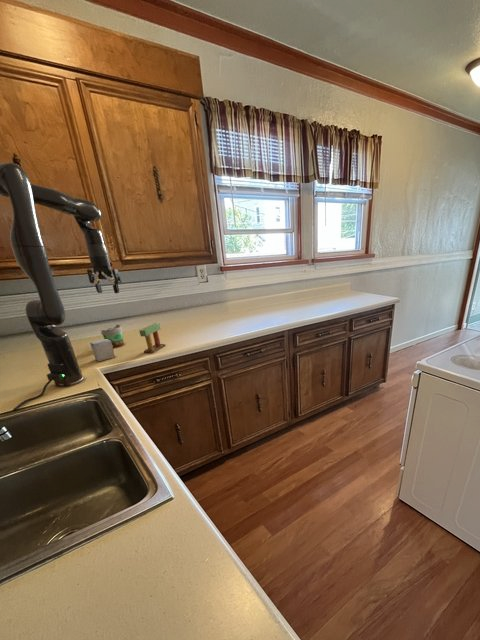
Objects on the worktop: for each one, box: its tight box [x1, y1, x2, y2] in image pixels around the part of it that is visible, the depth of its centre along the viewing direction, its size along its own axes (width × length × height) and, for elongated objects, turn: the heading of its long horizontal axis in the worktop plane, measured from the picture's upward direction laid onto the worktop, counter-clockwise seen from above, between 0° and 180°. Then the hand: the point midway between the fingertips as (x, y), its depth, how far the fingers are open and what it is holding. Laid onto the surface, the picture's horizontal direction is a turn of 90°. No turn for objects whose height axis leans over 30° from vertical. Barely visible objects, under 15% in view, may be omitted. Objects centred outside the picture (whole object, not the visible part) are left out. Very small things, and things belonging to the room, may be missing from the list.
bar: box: [139, 322, 162, 338], centre depth 167 cm, size 3×14×3 cm, turn 171°
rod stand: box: [143, 330, 166, 354], centre depth 170 cm, size 5×12×9 cm, turn 171°
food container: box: [100, 324, 125, 349], centre depth 175 cm, size 12×6×10 cm, turn 168°
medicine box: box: [90, 338, 116, 362], centre depth 158 cm, size 8×4×9 cm, turn 141°
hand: (108, 293), depth 151 cm, fingers open, 8 cm apart
